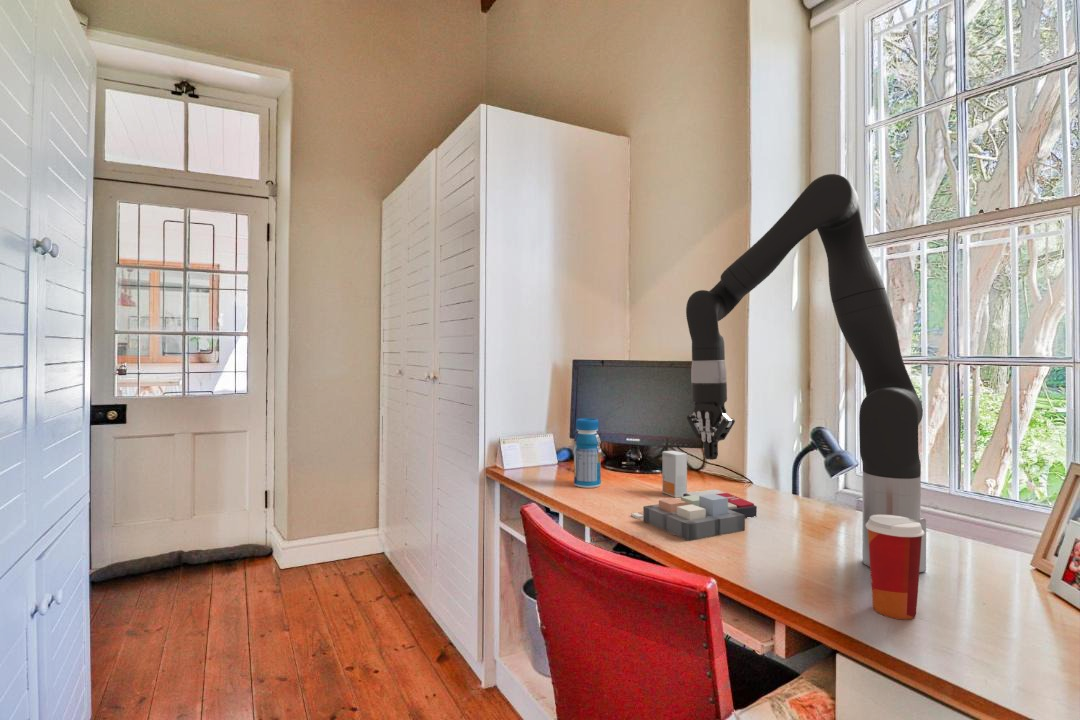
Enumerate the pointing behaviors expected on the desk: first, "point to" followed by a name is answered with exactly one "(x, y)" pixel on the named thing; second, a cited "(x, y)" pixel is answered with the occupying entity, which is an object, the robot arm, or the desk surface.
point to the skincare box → (674, 473)
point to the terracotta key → (670, 504)
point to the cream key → (691, 512)
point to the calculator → (731, 502)
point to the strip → (637, 515)
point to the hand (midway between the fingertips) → (710, 458)
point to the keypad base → (694, 523)
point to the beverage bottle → (587, 454)
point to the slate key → (714, 504)
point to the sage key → (691, 500)
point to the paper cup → (894, 564)
